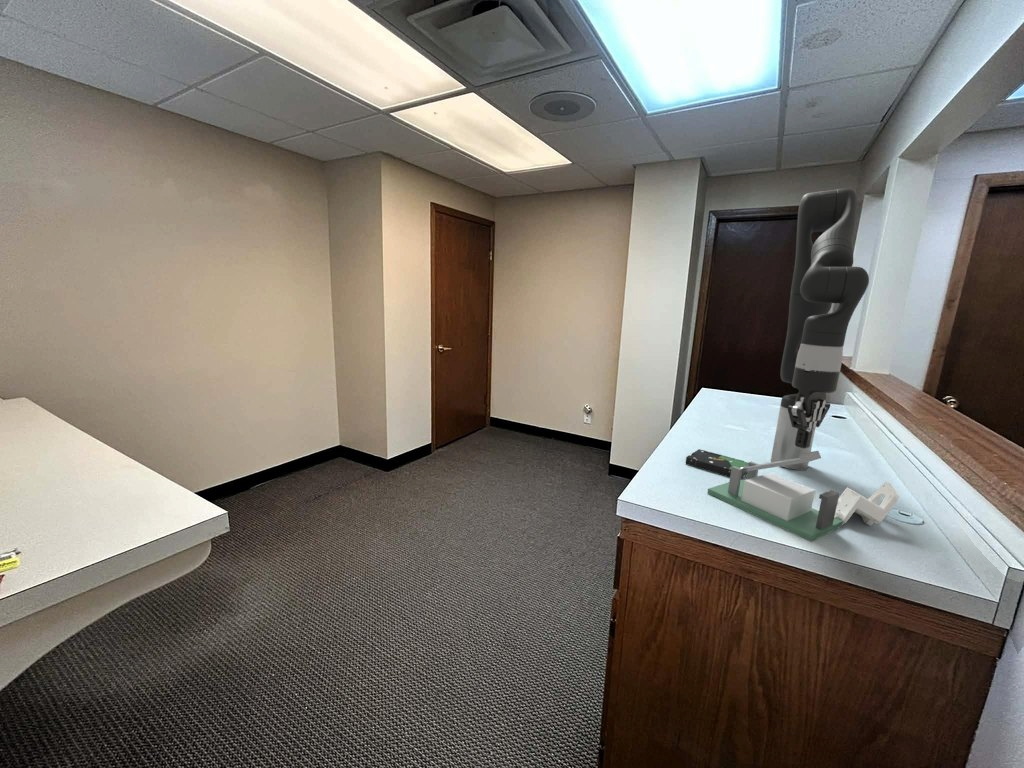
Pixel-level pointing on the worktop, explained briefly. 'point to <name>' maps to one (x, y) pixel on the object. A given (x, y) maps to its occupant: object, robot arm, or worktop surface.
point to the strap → (784, 462)
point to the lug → (827, 509)
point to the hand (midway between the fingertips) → (801, 446)
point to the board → (792, 525)
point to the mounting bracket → (866, 504)
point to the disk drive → (714, 462)
